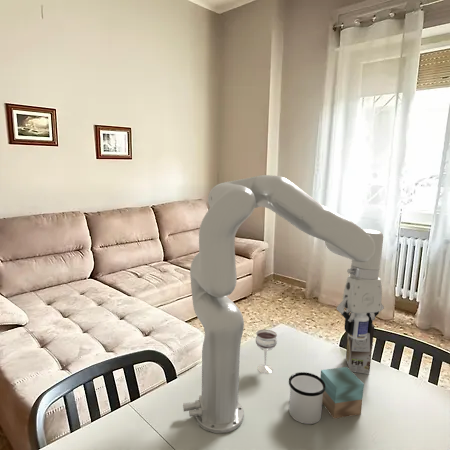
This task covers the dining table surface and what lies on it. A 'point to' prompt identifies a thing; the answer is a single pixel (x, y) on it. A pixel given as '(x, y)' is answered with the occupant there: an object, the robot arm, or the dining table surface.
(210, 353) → the robot arm
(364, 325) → the pill bottle
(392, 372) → the dining table surface
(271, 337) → the wineglass
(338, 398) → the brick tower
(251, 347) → the dining table surface
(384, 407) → the dining table surface
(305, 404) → the mug
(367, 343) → the coffee box
